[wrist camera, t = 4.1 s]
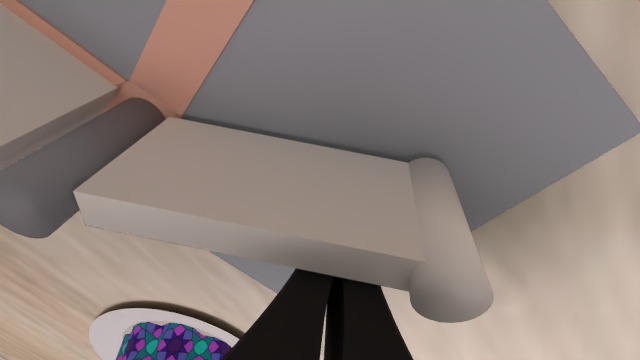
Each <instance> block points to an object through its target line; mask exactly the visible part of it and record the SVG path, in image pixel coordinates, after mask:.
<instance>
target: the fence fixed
mask: <svg viewBox="0 0 640 360" xmlns="http://www.w3.org/2000/svg"><path fill="white" fill-rule="evenodd" d="M117 88H118V87H116V86H115V85H114V84H112V83H111V82H109V81H108V80H107V79H105V78H104V77H102V76H101V75H100V74H98V73H97V72H95V71H94V70H93V69H91V68H90V67H88V66H87V65H86V64H84V63H83V62H82V61H80V60H79V59H77V58H76V57H75V56H73V55H72V54H70V53H69V52H68V51H66V50H65V49H63V48H62V47H61V46H59V45H58V44H57V43H55V42H54V41H52V40H51V39H50V38H48V37H47V36H45V35H44V34H43V33H41V32H40V31H38V30H37V29H36V28H34V27H33V26H31V25H30V24H29V23H27V22H26V21H25V20H23V19H22V18H20V17H19V16H18V15H16V14H15V13H13V12H12V11H11V10H9V9H8V8H6V7H5V6H4V5H2V4H1V3H0V170H1V171H0V224H1V225H2V226H4V227H5V228H7V229H9V230H11V231H13V232H15V233H17V234H20V235H23V236H26V237H30V238H45V237H48V236H49V235H51V234H52V233H53V232H54V231H55V230H57V229H58V228H59V227H60V226H61V225H62V224H64V223H65V222H66V221H67V220H68V219H69V218H71V217H72V216H73V215H74V214H75V213H76V212H78V211H79V210H80V209H79V206H78V204H77V201H76V198H75V196H74V193H73V191H74V190H75V189H76V188H78V187H79V186H80V185H81V184H83V183H84V182H85V181H87V180H88V179H89V178H91V177H92V176H93V175H94V174H96V173H97V172H98V171H100V170H101V169H102V168H104V167H105V166H106V165H107V164H109V163H110V162H111V161H113V160H114V159H115V158H117V157H118V156H119V155H120V154H122V153H123V152H124V151H126V150H127V149H128V148H130V147H131V146H132V145H133V144H135V143H136V142H137V141H139V140H140V139H141V138H143V137H144V136H145V135H146V134H148V133H149V132H150V131H152V130H153V129H154V128H156V127H157V126H158V125H159V124H161V123H162V122H163V121H165V120H166V119H165V117H164V115H163V114H162V112H161V111H160V110H159V109H158V108H157V107H156V106H155V105H154V104H152V103H151V102H149V101H147V100H145V99H142V98H137V97H133V98H129V99H127V100H125V101H123V102H121V103H119V104H118V105H116V106H114V107H112V108H111V109H109V110H108V108H109V106H110V104H111V102H112V100H113V97H114V95H115V93H116V91H117ZM103 112H104V113H103ZM101 113H102V114H101ZM99 114H100V115H99ZM94 117H95V118H94ZM92 118H93V119H92ZM87 121H88V122H87ZM85 122H86V123H85ZM83 123H84V124H83ZM80 125H81V126H80ZM78 126H79V127H78ZM76 127H77V128H76ZM71 130H72V131H71ZM69 131H70V132H69ZM64 134H65V135H64ZM62 135H63V136H62ZM60 136H61V137H60ZM57 138H58V139H57ZM55 139H56V140H55ZM53 140H54V141H53ZM48 143H49V144H48ZM46 144H47V145H46ZM44 145H45V146H44ZM41 147H42V148H41ZM39 148H40V149H39ZM37 149H38V150H37ZM34 151H35V152H34ZM32 152H33V153H32ZM30 153H31V154H30ZM25 156H26V157H25ZM23 157H24V158H23ZM21 158H22V159H21ZM18 160H19V161H18ZM16 161H17V162H16ZM14 162H15V163H14ZM11 164H12V165H11ZM9 165H10V166H9ZM7 166H8V167H7ZM5 167H6V168H5ZM2 169H3V170H2Z"/></svg>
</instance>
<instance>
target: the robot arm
mask: <svg viewBox="0 0 640 360" xmlns="http://www.w3.org/2000/svg"><path fill="white" fill-rule="evenodd" d="M326 306H327V312H326V331H325V350H324V360H413V358H412V356H411V354H410V352H409V350H408V348H407V346H406V344H405V342H404V340H403V338H402V336H401V334H400V332H399V329H398V327H397V325H396V323H395V320H394V318H393V316H392V314H391V311H390V309H389V307H388V304H387V302H386V299H385V297H384V294H383V291H382V289H381V286H380V285H375V284H371V283H366V282H361V281H356V280H351V279H346V278H341V277H336V276H331V275H326V274H321V273H317V272H312V271H307V270H302V269H297V268H296V269H295V270H294V272H293V273H292V275H291V276H290V278H289V279H288V281H287V282H286V283H285V285H284V286H283V287H282V289H281V290H280V292H279V293H278V294H277V296H276V297H275V298H274V300H273V301H272V302H271V303H270V305H269V306H268V307H267V309H266V310H265V311H264V312H263V313H262V315H261V316H260V317H259V318H258V319H257V320H256V322H255V323H254V324H253V325H252V326H251V328H250V329H249V330H248V331H247V332H246V333H245V334H244V335H243V336H242V337H241V338H240V340H239V341H238V342H237V343H236V344H235V345H234V346H233V347H232V348H231V349H230V350H229V351H228V353H227V354H226V355H225V356H224V357H223V358H222V359H221V360H320V351H321V342H322V334H323V326H324V317H325V311H326Z"/></svg>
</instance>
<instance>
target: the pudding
mask: <svg viewBox="0 0 640 360" xmlns="http://www.w3.org/2000/svg"><path fill="white" fill-rule="evenodd" d="M157 320H158V321H170V322H175V323H168V324H166V325H163V326H160V325H157V324H153V323H150V322H145V323H139V322H144V321H157ZM136 323H139V324H137V325H135V326H134V327H133V329H132V332H131V334H126V335H125V337H124V339H123V340H122V338H123V333H124V332H125V330H126V329H127V328H129V327H130V326H131V325H134V324H136ZM177 323H181V324H177ZM183 324H185V325H183ZM186 325H188V326H186ZM189 326H192V327H195V328H198V329H200V330H203V331H206V332H208V333H210V334H212V335H214V336H216V337H218V338H220V339H221V340H223V341H225V342H226V343H225V342H223V341H221V340H219V339H218V338H215V337H209V336H203V335H202V334H200V333H199V332H198V331H197V330H195V329H194V328H192V327H189ZM89 339H90V342H91V345H92V347H93V349H94V350H95V352H96V354H97V355H98V356H99V357H100V358H101V359H102V360H221V359H222V358H223V357H224V356H225V355H226V354H227V353H228V351H229V350H230V349H231V347H230V346H232V347H233V346H234V345H235V344H236V343H237V342H238V341H239V339H238V338H236V337H235V336H233V335H231V334H230V333H228V332H226V331H224V330H222V329H220V328H218V327H215V326H213V325H211V324H208V323H206V322H203V321H200V320H198V319H195V318H192V317H188V316H185V315H181V314H178V313H174V312H168V311H163V310H157V309H145V308H129V309H120V310H115V311H110V312H108V313H105V314H103V315H101V316H99V317H98V318H97V319H96V320H95V321H93V323H92V325H91V327H90V329H89ZM227 343H228V344H229V345H230V346H229V345H228V344H227Z"/></svg>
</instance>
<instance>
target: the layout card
mask: <svg viewBox="0 0 640 360" xmlns="http://www.w3.org/2000/svg"><path fill="white" fill-rule="evenodd" d="M0 3H1V4H2V5H4V6H5V7H6V8H8V9H9V10H11V11H12V12H13V13H15V14H16V15H18V16H19V17H20V18H22V19H23V20H25V21H26V22H27V23H29V24H30V25H31V26H33V27H34V28H36V29H37V30H38V31H40V32H41V33H43V34H44V35H45V36H47V37H48V38H50V39H51V40H52V41H54V42H55V43H57V44H58V45H59V46H61V47H62V48H63V49H65V50H66V51H68V52H69V53H70V54H72V55H73V56H75V57H76V58H77V59H79V60H80V61H82V62H83V63H84V64H86V65H87V66H88V67H90V68H91V69H93V70H94V71H95V72H97V73H98V74H100V75H101V76H102V77H104V78H105V79H107V80H108V81H109V82H111V83H112V84H114V85H115V86H116V87H118V88H117V91H116V93H115V95H114V97H113V100H112V102H111V104H110V106H109V108H108V110H109V109H111V108H112V107H114V106H116V105H118V104H119V103H121V102H123V101H125V100H127V99H129V98H133V97H137V98H142V99H145V100H147V101H149V102H151V103H152V104H154V105H155V106H156V107H157V108H158V109H159V110H160V111H161V112H162V114H163V115H164V117H165V119H167V118H169V117H173V118H179V119H184V120H189V121H194V122H199V123H205V124H210V125H215V126H220V127H225V128H231V129H236V130H241V131H246V132H251V133H257V134H262V135H267V136H272V137H277V138H282V139H288V140H293V141H298V142H303V143H308V144H314V145H319V146H324V147H329V148H334V149H340V150H345V151H350V152H355V153H360V154H366V155H371V156H376V157H381V158H386V159H392V160H397V161H402V162H407V163H408V162H410V161H412V160H415V159H419V158H432V159H436V160H438V161H440V162H442V163H443V164H444V165H445V166H446V167H447V169H448V171H449V173H450V176H451V179H452V182H453V184H454V187H455V190H456V193H457V195H458V198H459V201H460V204H461V206H462V209H463V212H464V215H465V217H466V220H467V223H468V226H469V228H470V231H472V230H474V229H475V228H477V227H479V226H481V225H482V224H484V223H486V222H487V221H489V220H491V219H493V218H494V217H496V216H498V215H499V214H501V213H503V212H505V211H506V210H508V209H510V208H512V207H513V206H515V205H517V204H518V203H520V202H522V201H524V200H525V199H527V198H529V197H530V196H532V195H534V194H536V193H537V192H539V191H541V190H542V189H544V188H546V187H548V186H549V185H551V184H553V183H555V182H556V181H558V180H560V179H561V178H563V177H565V176H567V175H568V174H570V173H572V172H573V171H575V170H577V169H579V168H580V167H582V166H584V165H585V164H587V163H589V162H591V161H592V160H594V159H596V158H598V157H599V156H601V155H603V154H604V153H606V152H608V151H610V150H611V149H613V148H615V147H616V146H618V145H620V144H622V143H623V142H625V141H627V140H628V139H630V138H632V137H634V136H635V135H637V134H639V133H640V123H639V121H638V120H637V119H636V118H635V116H634V115H633V114H632V112H631V111H630V110H629V108H628V107H627V106H626V104H625V103H624V102H623V100H622V99H621V98H620V96H619V95H618V94H617V92H616V91H615V90H614V88H613V87H612V86H611V84H610V83H609V82H608V81H607V79H606V78H605V77H604V75H603V74H602V73H601V71H600V70H599V69H598V67H597V66H596V65H595V63H594V62H593V61H592V59H591V58H590V57H589V55H588V54H587V53H586V51H585V50H584V49H583V47H582V46H581V45H580V44H579V42H578V41H577V40H576V38H575V37H574V36H573V34H572V33H571V32H570V30H569V29H568V28H567V26H566V25H565V24H564V22H563V21H562V20H561V18H560V17H559V16H558V14H557V13H556V12H555V10H554V9H553V8H552V7H551V5H550V4H549V3H548V1H547V0H0ZM103 113H104V112H103ZM101 114H102V113H101ZM99 115H100V114H99ZM94 118H95V117H94ZM92 119H93V118H92ZM87 122H88V121H87ZM85 123H86V122H85ZM83 124H84V123H83ZM80 126H81V125H80ZM78 127H79V126H78ZM76 128H77V127H76ZM71 131H72V130H71ZM69 132H70V131H69ZM64 135H65V134H64ZM62 136H63V135H62ZM60 137H61V136H60ZM57 139H58V138H57ZM55 140H56V139H55ZM53 141H54V140H53ZM48 144H49V143H48ZM46 145H47V144H46ZM44 146H45V145H44ZM208 251H209V250H208ZM210 252H211V253H213V254H215V255H216V256H218V257H219V258H221V259H223V260H224V261H226V262H228V263H229V264H231V265H232V266H234V267H236V268H237V269H239V270H240V271H242V272H244V273H245V274H247V275H248V276H250V277H252V278H253V279H255V280H257V281H258V282H260V283H261V284H263V285H265V286H266V287H268V288H269V289H271V290H273V291H274V292H276V293H277V294H278V293H279V292H280V290H281V289H282V287H283V286H284V285H285V283H286V282H287V281H288V279H289V278H290V276H291V275H292V273H293V272H294V270H295V269H296V268H292V267H287V266H282V265H277V264H272V263H267V262H263V261H258V260H253V259H248V258H243V257H238V256H233V255H228V254H223V253H218V252H213V251H210ZM326 312H327V306H326V311H325V316H326Z"/></svg>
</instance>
